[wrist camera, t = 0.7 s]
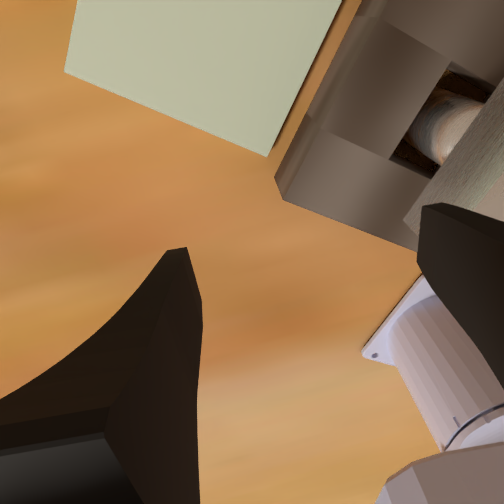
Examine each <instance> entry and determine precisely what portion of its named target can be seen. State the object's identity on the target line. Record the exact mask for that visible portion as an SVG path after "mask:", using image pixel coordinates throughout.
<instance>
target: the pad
mask: <svg viewBox="0 0 504 504" xmlns="http://www.w3.org/2000/svg"><path fill="white" fill-rule="evenodd" d="M341 1H342V0H78V2H77V7H76V12H75V17H74V22H73V27H72V32H71V37H70V42H69V47H68V53H67V58H66V63H65V68H64V72H65V73H68V74H70V75H72V76H75V77H77V78H79V79H82V80H84V81H87V82H89V83H91V84H94V85H96V86H98V87H101V88H103V89H106V90H108V91H110V92H113V93H115V94H118V95H120V96H122V97H125V98H127V99H129V100H132V101H134V102H137V103H139V104H141V105H144V106H146V107H149V108H151V109H153V110H156V111H158V112H160V113H163V114H165V115H168V116H170V117H172V118H175V119H177V120H179V121H182V122H184V123H187V124H189V125H191V126H194V127H196V128H199V129H201V130H203V131H206V132H208V133H210V134H213V135H215V136H218V137H220V138H222V139H225V140H227V141H230V142H232V143H234V144H237V145H239V146H241V147H244V148H246V149H249V150H251V151H253V152H256V153H258V154H260V155H263V156H265V157H267V156H268V154H269V152H270V150H271V148H272V146H273V144H274V142H275V139H276V137H277V135H278V133H279V131H280V129H281V127H282V125H283V123H284V121H285V119H286V116H287V114H288V112H289V110H290V108H291V106H292V104H293V102H294V100H295V98H296V95H297V93H298V91H299V89H300V87H301V85H302V83H303V81H304V79H305V77H306V75H307V72H308V70H309V68H310V66H311V64H312V62H313V60H314V58H315V56H316V54H317V52H318V49H319V47H320V45H321V43H322V41H323V39H324V37H325V35H326V33H327V31H328V29H329V26H330V24H331V22H332V20H333V18H334V16H335V14H336V12H337V10H338V8H339V6H340V3H341Z"/></svg>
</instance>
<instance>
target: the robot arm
mask: <svg viewBox="0 0 504 504" xmlns="http://www.w3.org/2000/svg"><path fill="white" fill-rule="evenodd" d="M417 263H418V265H419V267H420V269H421V271H422V273H423V275H421V276H420V277H419V278H418V280H417V281H416V282H415V283H414V285H413V286H412V287H411V289H410V290H409V291H408V292H407V294H406V295H405V296H404V297H403V299H402V300H401V301H400V302H399V304H398V305H397V306H396V307H395V309H394V310H393V311H392V312H391V314H390V315H389V316H388V317H387V319H386V320H385V321H384V322H383V324H382V325H381V326H380V328H379V329H378V330H377V331H376V333H375V334H374V335H373V336H372V338H371V339H370V340H369V341H368V343H367V344H366V345H365V346H364V348H363V349H362V351H361V353H362V355H363V357H364V358H367V359H371V360H374V361H378V362H382V363H385V364H389V365H393V366H396V367H397V369H398V371H399V373H400V375H401V377H402V379H403V380H404V382H405V384H406V386H407V388H408V390H409V392H410V394H411V396H412V398H413V400H414V402H415V404H416V405H417V407H418V409H419V411H420V413H421V415H422V417H423V419H424V421H425V423H426V425H427V427H428V428H429V430H430V432H431V434H432V436H433V438H434V440H435V442H436V444H437V446H438V448H439V450H440V451H441V453H439V454H435V455H432V456H429V457H426V458H423V459H420V460H416V461H413V462H411V463H410V464H408V465H407V466H405V467H404V468H402V469H401V470H399V471H398V472H396V473H395V474H393V475H392V476H390V477H389V478H388V479H387V481H386V483H385V485H384V486H383V488H382V490H381V492H380V494H379V496H378V498H377V500H376V502H375V504H504V222H503V221H500V220H497V219H494V218H491V217H488V216H485V215H483V214H480V213H477V212H474V211H471V210H468V209H465V208H462V207H458V206H455V205H452V204H448V203H443V202H440V203H435V204H429V205H423V206H422V209H421V220H420V230H419V241H418V251H417ZM202 331H203V320H202V300H201V296H200V292H199V289H198V285H197V282H196V278H195V275H194V271H193V267H192V264H191V260H190V257H189V253H188V250H187V247H184V248H178V249H172V250H167V251H166V252H165V254H164V255H163V256H162V258H161V259H160V260H159V262H158V263H157V264H156V266H155V267H154V268H153V270H152V271H151V272H150V274H149V275H148V276H147V278H146V279H145V280H144V281H143V283H142V284H141V285H140V287H139V288H138V289H137V290H136V291H135V292H134V294H133V295H132V296H131V297H130V298H129V299H128V300H127V301H126V303H125V304H124V305H123V306H122V307H121V308H120V309H119V310H118V312H117V313H116V314H115V315H114V316H113V317H112V318H111V319H110V320H109V321H108V322H106V323H105V324H104V325H103V326H102V327H101V328H100V329H99V330H98V331H97V332H96V333H95V334H93V335H92V336H91V337H90V338H89V339H87V340H86V341H85V342H84V343H82V344H81V345H80V346H79V347H77V348H76V349H75V350H74V351H72V352H71V353H70V354H69V355H67V356H66V357H65V358H63V359H62V360H61V361H59V362H58V363H57V364H55V365H54V366H52V367H51V368H49V369H48V370H47V371H45V372H44V373H42V374H41V375H39V376H38V377H36V378H35V379H33V380H32V381H30V382H28V383H27V384H25V385H24V386H22V387H20V388H19V389H17V390H15V391H14V392H12V393H10V394H8V395H7V396H5V397H3V398H2V399H0V504H200V489H199V468H198V438H197V389H198V378H199V366H200V355H201V343H202ZM374 353H375V354H374Z"/></svg>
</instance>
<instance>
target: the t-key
mask: <svg viewBox="0 0 504 504" xmlns="http://www.w3.org/2000/svg"><path fill="white" fill-rule="evenodd" d="M402 138H403V140H404V141H406V142H407V143H408V144H410V145H411V146H413V147H414V148H416V149H417V150H418V151H420V152H421V153H423V154H424V155H426V156H427V157H429V158H430V159H431V160H433V161H434V162H436V163H437V164H439V165H440V166H441V167H440V168H439V170H438V171H437V172H436V174H435V175H434V177H433V178H432V179H431V181H430V182H429V184H428V185H427V187H426V188H425V189H424V191H423V192H422V194H421V195H420V196H419V198H418V199H417V201H416V202H415V203H414V205H413V206H412V208H411V209H410V211H409V212H408V213H407V215H406V216H405V218H404V219H403V221H404V222H405V223H406V224H407V225H408V226H409V228H410V229H411V230H412V231H413V232H414V233H415V234H416V235H417V236H418V237H419V230H420V220H421V209H422V206H423V205H429V204H435V203H440V202H443V203H448V204H452V205H455V206H458V207H462V208H465V209H468V210H471V211H474V212H477V213H480V214H483V215H485V216H488V217H491V218H494V219H497V220H500V221H503V222H504V78H503V79H502V81H501V82H500V83H499V85H498V86H497V88H496V89H495V91H494V92H493V93H492V95H491V96H490V98H489V99H488V100H487V102H486V103H485V104H484V103H481V102H479V101H476V100H473V99H470V98H467V97H465V96H462V95H459V94H456V93H453V92H451V91H448V90H445V89H442V88H439V87H434V89H433V90H432V92H431V93H430V95H429V96H428V98H427V100H426V101H425V103H424V104H423V106H422V107H421V109H420V111H419V112H418V114H417V115H416V117H415V118H414V120H413V122H412V123H411V125H410V126H409V128H408V130H407V131H406V133H405V134H404V136H403V137H402Z"/></svg>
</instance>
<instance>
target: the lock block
mask: <svg viewBox="0 0 504 504" xmlns="http://www.w3.org/2000/svg"><path fill="white" fill-rule="evenodd" d="M446 69H447V70H449V71H451V72H452V73H454V74H456V75H458V76H459V77H461V78H463V79H464V80H466V81H468V82H470V83H471V84H473V85H475V86H476V87H478V88H480V89H482V90H483V91H485V92H487V93H489V94H488V95H487V96H486V98H485V99H484V101H483V102H482V103H484V104H485V103H486V102H487V100H488V99H489V98H490V96H491V95H492V93H493V92H494V91H495V89H496V88H497V86H498V85H499V83H500V82H501V81H502V79H503V78H504V0H362V2H361V4H360V6H359V8H358V10H357V12H356V14H355V16H354V18H353V20H352V22H351V24H350V26H349V28H348V30H347V32H346V34H345V36H344V38H343V40H342V42H341V44H340V46H339V48H338V50H337V52H336V54H335V56H334V58H333V60H332V62H331V64H330V66H329V68H328V70H327V72H326V74H325V76H324V78H323V80H322V82H321V84H320V86H319V88H318V90H317V92H316V94H315V96H314V98H313V100H312V102H311V104H310V106H309V108H308V110H307V112H306V114H305V116H304V118H303V120H302V122H301V124H300V126H299V128H298V130H297V132H296V134H295V136H294V138H293V140H292V142H291V144H290V146H289V148H288V150H287V152H286V154H285V156H284V158H283V160H282V162H281V164H280V166H279V168H278V170H277V172H276V174H275V176H274V178H275V181H276V183H277V186H278V188H279V191H280V194H281V196H282V199H283V200H284V201H287V202H289V203H292V204H295V205H297V206H300V207H302V208H305V209H307V210H310V211H313V212H315V213H318V214H320V215H323V216H325V217H328V218H331V219H333V220H336V221H338V222H341V223H343V224H346V225H349V226H351V227H354V228H356V229H359V230H361V231H364V232H367V233H369V234H372V235H374V236H377V237H379V238H382V239H385V240H387V241H390V242H392V243H395V244H397V245H400V246H403V247H405V248H408V249H410V250H413V251H415V252H417V251H418V241H419V237H418V236H417V235H416V234H415V233H414V232H413V231H412V230H411V229H410V228H409V226H408V225H407V224H406V223H405V222H404V221H403V219H404V218H405V216H406V215H407V213H408V212H409V211H410V209H411V208H412V206H413V205H414V203H415V202H416V201H417V199H418V198H419V196H420V195H421V194H422V192H423V191H424V189H425V188H426V187H427V185H428V184H429V182H430V181H431V179H432V178H433V177H434V175H435V174H436V172H437V171H438V170H439V168H440V167H441V166H440V165H438V166H437V167H436V169H435V170H434V172H431V171H429V170H427V169H424V168H422V167H420V166H418V165H416V164H414V163H412V162H410V161H408V160H405V159H403V158H401V157H399V156H397V155H395V154H393V152H394V150H395V148H396V147H397V145H398V144H399V142H400V141H401V139H402V137H403V136H404V134H405V133H406V131H407V130H408V128H409V126H410V125H411V123H412V122H413V120H414V118H415V117H416V115H417V114H418V112H419V111H420V109H421V107H422V106H423V104H424V103H425V101H426V100H427V98H428V96H429V95H430V93H431V92H432V90H433V89H434V87H435V85H436V84H437V82H438V81H439V79H440V78H441V76H442V74H443V73H444V71H445V70H446Z"/></svg>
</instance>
